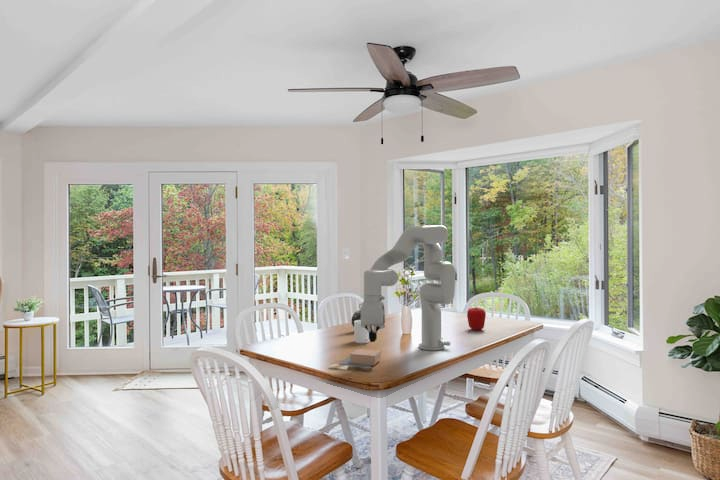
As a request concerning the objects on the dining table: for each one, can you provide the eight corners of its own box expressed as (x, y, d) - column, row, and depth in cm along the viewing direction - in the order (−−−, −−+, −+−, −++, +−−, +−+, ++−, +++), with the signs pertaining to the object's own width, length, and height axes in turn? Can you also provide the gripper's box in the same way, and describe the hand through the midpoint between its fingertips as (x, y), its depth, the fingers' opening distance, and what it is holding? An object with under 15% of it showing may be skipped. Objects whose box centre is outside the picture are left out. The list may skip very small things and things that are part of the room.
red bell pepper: (463, 329, 268) (463, 306, 268) (477, 327, 273) (477, 304, 273) (475, 332, 259) (475, 308, 259) (489, 330, 263) (489, 307, 263)
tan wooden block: (380, 350, 201) (357, 348, 205) (374, 355, 192) (350, 353, 196) (380, 359, 201) (357, 357, 205) (374, 365, 192) (350, 363, 196)
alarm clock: (367, 329, 268) (367, 302, 268) (372, 331, 263) (372, 303, 263) (351, 331, 262) (350, 303, 262) (355, 333, 258) (355, 304, 257)
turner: (373, 369, 188) (373, 366, 188) (369, 372, 184) (369, 369, 184) (333, 365, 194) (333, 362, 194) (328, 368, 190) (328, 365, 190)
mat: (379, 359, 204) (379, 358, 204) (370, 367, 191) (370, 366, 191) (350, 356, 208) (350, 355, 208) (338, 364, 195) (338, 363, 195)
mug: (361, 345, 229) (361, 324, 228) (351, 341, 239) (351, 320, 239) (376, 344, 232) (376, 323, 232) (366, 339, 243) (366, 319, 243)
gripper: (391, 298, 198) (391, 340, 198) (359, 297, 203) (359, 338, 203) (386, 300, 191) (387, 344, 191) (353, 299, 196) (353, 341, 196)
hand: (372, 341), depth 197 cm, fingers closed
